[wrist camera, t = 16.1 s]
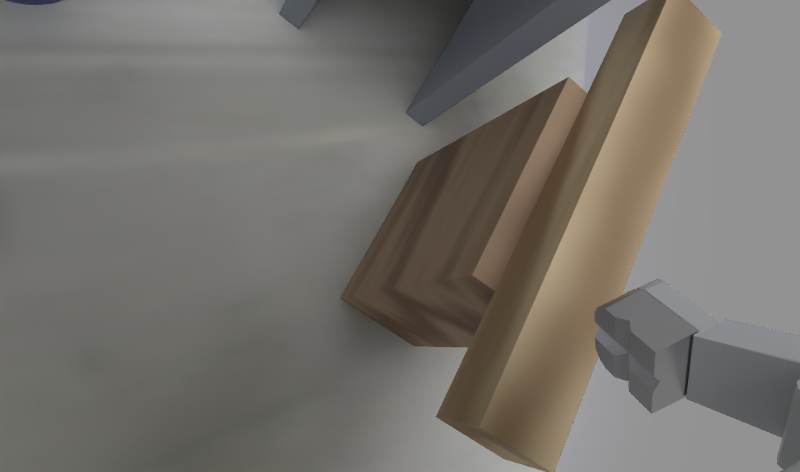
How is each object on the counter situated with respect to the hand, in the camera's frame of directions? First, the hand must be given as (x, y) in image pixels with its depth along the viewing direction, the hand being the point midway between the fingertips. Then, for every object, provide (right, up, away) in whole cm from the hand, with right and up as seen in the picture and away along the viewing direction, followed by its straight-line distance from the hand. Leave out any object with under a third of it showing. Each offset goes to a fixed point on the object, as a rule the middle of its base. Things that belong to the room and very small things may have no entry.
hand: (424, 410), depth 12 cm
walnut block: (+1, +2, +29) cm, 29 cm away
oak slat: (+7, +5, +15) cm, 18 cm away
